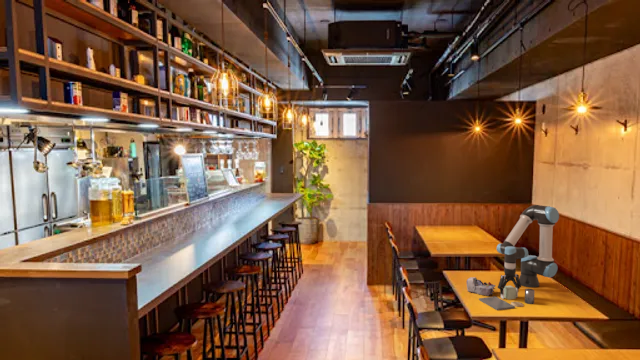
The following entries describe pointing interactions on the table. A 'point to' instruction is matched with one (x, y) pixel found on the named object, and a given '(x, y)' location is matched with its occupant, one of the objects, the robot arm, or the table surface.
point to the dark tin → (529, 296)
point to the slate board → (496, 303)
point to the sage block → (509, 292)
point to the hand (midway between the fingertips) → (509, 297)
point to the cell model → (479, 286)
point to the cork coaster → (517, 304)
